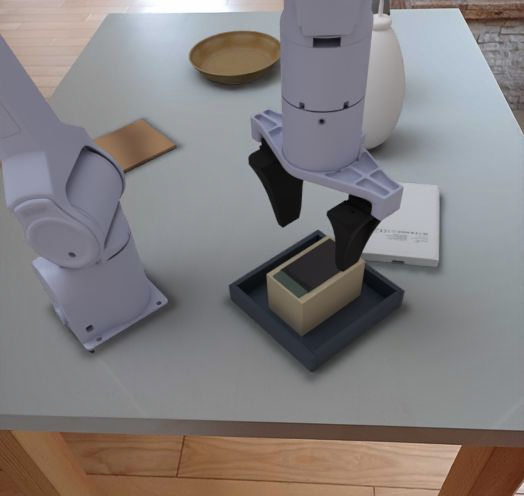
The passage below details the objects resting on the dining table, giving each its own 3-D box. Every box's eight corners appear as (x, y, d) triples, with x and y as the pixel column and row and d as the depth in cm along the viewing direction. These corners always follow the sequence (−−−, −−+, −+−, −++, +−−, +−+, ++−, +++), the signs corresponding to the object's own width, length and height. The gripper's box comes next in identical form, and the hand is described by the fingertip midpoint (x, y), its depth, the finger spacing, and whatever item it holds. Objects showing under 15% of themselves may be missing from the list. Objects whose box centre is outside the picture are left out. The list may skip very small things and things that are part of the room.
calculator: (301, 336, 50) (302, 302, 46) (268, 307, 52) (266, 272, 48) (360, 295, 53) (365, 259, 49) (326, 269, 55) (328, 232, 51)
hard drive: (437, 196, 62) (436, 270, 55) (367, 191, 63) (358, 262, 56) (440, 185, 61) (440, 259, 54) (369, 179, 62) (359, 251, 55)
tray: (311, 375, 48) (311, 359, 46) (230, 301, 54) (228, 285, 52) (401, 307, 52) (405, 290, 50) (317, 246, 58) (318, 229, 56)
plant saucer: (227, 102, 77) (226, 85, 75) (173, 68, 84) (170, 51, 82) (302, 68, 82) (302, 50, 80) (245, 38, 89) (243, 22, 87)
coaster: (119, 175, 68) (118, 172, 68) (86, 146, 72) (85, 144, 72) (176, 147, 71) (175, 144, 71) (141, 121, 75) (141, 119, 75)
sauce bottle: (327, 135, 71) (335, -19, 56) (381, 124, 72) (403, -30, 57) (347, 167, 66) (361, 10, 52) (404, 156, 67) (434, -3, 53)
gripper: (447, 108, 33) (410, 262, 44) (296, 37, 40) (296, 186, 51) (370, 153, 31) (351, 305, 42) (223, 69, 38) (239, 218, 49)
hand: (317, 242), depth 46 cm, fingers open, 7 cm apart
